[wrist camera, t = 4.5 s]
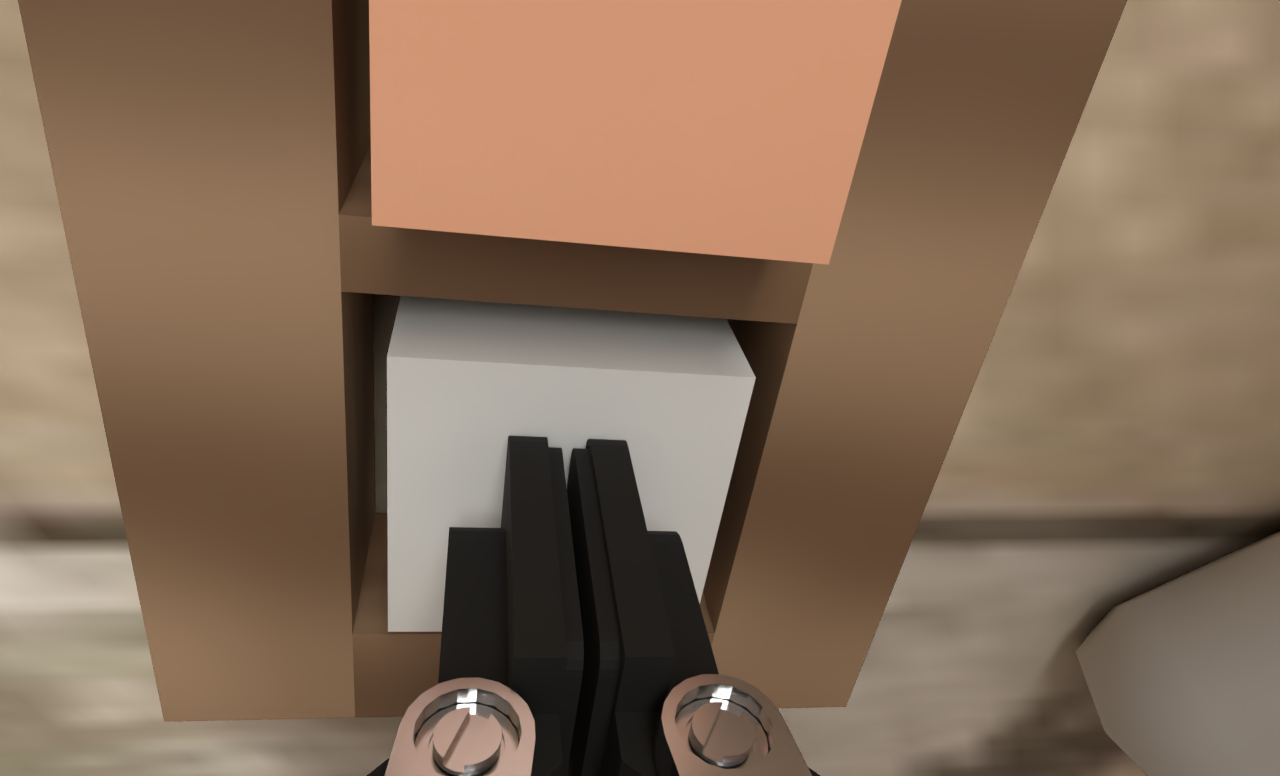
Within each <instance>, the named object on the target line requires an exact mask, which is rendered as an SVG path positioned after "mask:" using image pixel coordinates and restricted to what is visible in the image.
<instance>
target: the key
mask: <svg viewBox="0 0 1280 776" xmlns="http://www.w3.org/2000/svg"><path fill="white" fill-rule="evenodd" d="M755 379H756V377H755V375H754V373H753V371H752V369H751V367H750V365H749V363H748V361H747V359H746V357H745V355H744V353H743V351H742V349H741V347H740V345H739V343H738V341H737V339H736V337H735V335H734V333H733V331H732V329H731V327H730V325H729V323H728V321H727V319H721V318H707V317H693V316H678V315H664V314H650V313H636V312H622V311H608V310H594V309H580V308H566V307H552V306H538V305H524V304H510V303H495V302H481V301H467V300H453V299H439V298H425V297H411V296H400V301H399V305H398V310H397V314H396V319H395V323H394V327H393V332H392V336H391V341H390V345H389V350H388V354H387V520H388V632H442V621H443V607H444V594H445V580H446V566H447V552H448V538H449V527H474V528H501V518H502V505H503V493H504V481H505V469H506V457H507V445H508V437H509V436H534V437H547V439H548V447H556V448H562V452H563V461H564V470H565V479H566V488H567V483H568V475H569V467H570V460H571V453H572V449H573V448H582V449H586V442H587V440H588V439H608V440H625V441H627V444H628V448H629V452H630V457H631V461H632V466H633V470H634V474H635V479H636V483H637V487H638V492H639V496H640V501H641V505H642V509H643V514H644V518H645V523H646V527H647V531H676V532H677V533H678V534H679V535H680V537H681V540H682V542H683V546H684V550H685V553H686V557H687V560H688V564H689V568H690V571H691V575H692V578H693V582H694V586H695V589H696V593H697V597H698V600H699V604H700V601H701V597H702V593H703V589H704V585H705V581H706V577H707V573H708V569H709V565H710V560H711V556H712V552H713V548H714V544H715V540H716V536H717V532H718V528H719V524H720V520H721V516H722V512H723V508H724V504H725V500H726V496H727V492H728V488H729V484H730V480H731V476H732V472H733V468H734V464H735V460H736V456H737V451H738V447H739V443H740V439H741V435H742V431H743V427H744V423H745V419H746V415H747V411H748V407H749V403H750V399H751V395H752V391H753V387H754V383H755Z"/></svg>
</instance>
